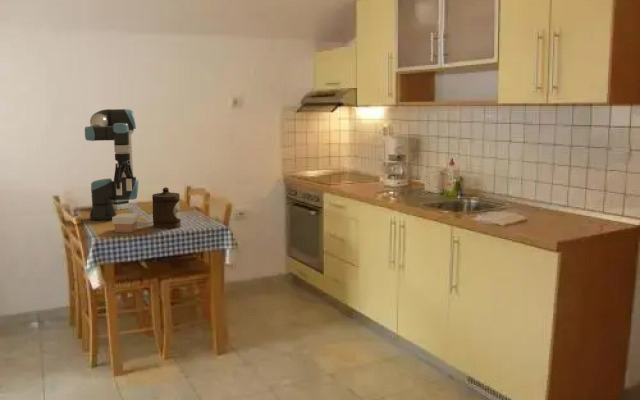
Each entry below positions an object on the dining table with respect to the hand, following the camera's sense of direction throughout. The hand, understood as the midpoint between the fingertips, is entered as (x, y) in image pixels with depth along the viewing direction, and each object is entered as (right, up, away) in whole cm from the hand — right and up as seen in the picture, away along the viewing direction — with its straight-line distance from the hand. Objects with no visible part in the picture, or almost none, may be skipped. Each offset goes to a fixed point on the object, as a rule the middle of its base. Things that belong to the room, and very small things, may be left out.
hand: (124, 192), depth 317 cm
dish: (0, -20, +3) cm, 21 cm away
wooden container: (+19, -19, +15) cm, 30 cm away
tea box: (-29, -9, +72) cm, 79 cm away
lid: (0, -15, +2) cm, 16 cm away
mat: (+2, -18, +19) cm, 26 cm away
